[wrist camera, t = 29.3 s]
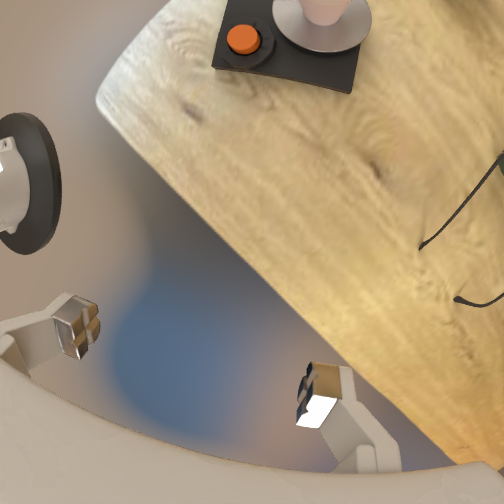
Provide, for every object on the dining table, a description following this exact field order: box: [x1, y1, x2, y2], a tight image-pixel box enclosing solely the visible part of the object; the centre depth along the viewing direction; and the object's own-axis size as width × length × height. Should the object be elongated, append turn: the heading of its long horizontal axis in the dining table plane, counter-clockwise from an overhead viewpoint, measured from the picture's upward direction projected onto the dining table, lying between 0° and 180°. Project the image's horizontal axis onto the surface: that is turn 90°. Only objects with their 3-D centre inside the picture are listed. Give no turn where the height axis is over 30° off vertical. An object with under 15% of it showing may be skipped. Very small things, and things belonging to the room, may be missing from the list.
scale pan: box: [272, 0, 372, 54], centre depth 22 cm, size 10×10×1 cm
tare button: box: [227, 25, 260, 54], centre depth 24 cm, size 3×3×2 cm
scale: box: [211, 0, 361, 94], centre depth 24 cm, size 15×12×3 cm
